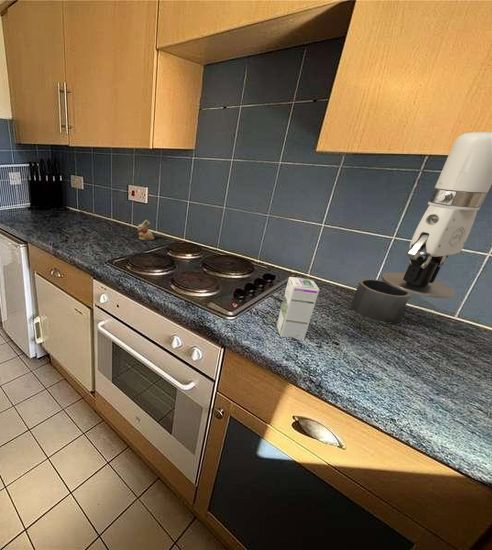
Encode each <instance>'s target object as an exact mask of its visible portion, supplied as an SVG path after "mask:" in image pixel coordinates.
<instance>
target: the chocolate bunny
mask: <svg viewBox="0 0 492 550" xmlns="http://www.w3.org/2000/svg"><path fill="white" fill-rule="evenodd" d="M149 226H151V222H150V221H149V219H145V220H144V221H143V222H142V223H140V224H138V226H137V228H136V229H137V232H138V240H140V241H141V240H142V241H154V240H155V236H154V234H153V233H152V232H151V230H149Z"/></svg>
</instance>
